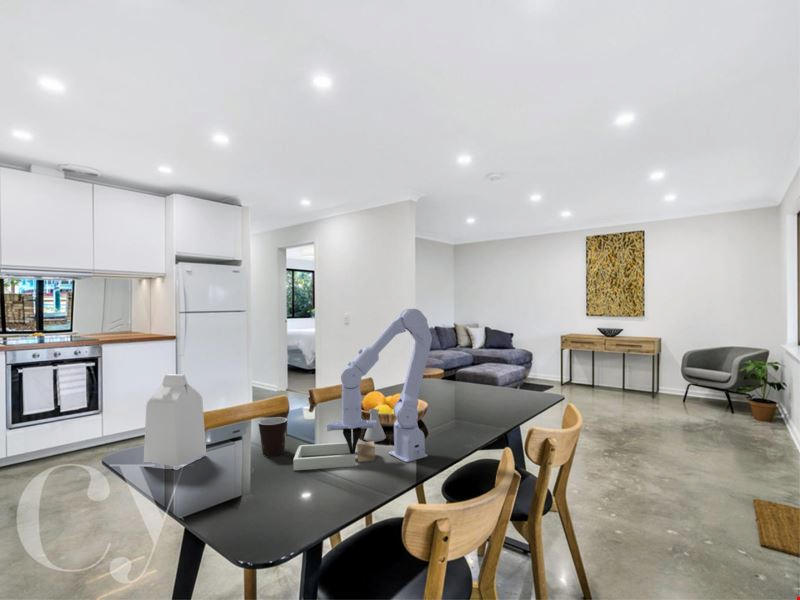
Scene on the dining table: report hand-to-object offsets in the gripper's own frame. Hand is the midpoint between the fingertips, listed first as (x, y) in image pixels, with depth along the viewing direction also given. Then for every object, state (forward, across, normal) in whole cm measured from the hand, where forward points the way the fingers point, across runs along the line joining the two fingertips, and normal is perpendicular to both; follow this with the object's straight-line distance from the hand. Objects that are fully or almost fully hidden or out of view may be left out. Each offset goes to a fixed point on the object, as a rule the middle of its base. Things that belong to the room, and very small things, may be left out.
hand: (352, 453), depth 120 cm
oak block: (+2, +4, 0) cm, 4 cm away
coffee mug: (+2, -24, +11) cm, 27 cm away
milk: (+2, -53, +8) cm, 53 cm away
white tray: (+1, -7, 0) cm, 7 cm away
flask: (+2, +8, +17) cm, 19 cm away
